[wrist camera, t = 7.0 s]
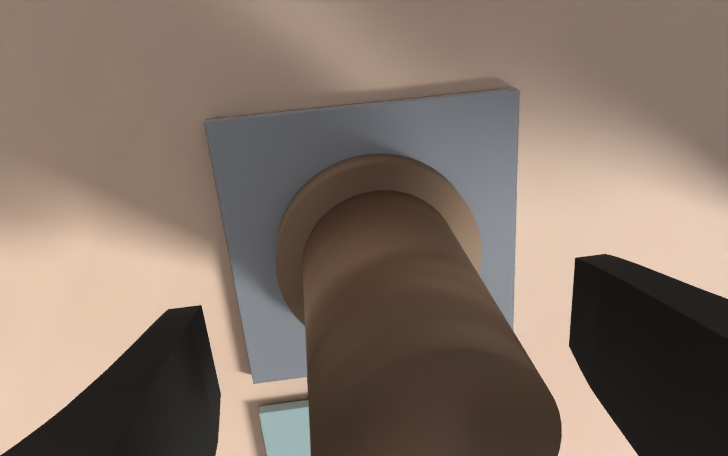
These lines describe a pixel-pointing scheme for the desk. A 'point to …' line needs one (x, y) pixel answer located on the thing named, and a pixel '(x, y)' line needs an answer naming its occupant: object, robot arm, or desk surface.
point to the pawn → (404, 320)
